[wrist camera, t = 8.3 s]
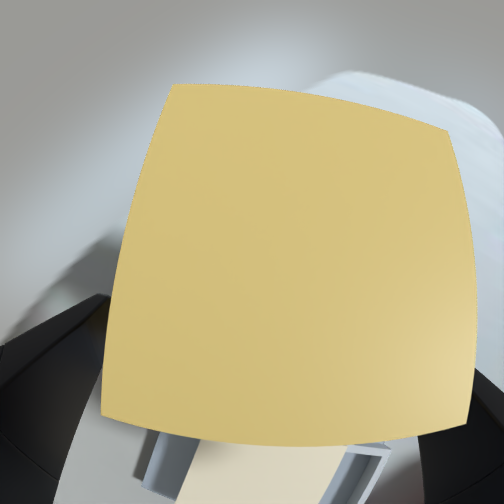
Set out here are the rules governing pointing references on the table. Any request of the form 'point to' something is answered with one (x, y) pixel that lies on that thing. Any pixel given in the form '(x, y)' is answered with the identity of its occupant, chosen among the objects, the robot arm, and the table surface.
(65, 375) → the robot arm
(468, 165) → the table surface
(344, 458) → the puzzle board
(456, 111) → the table surface
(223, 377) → the block
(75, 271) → the table surface
